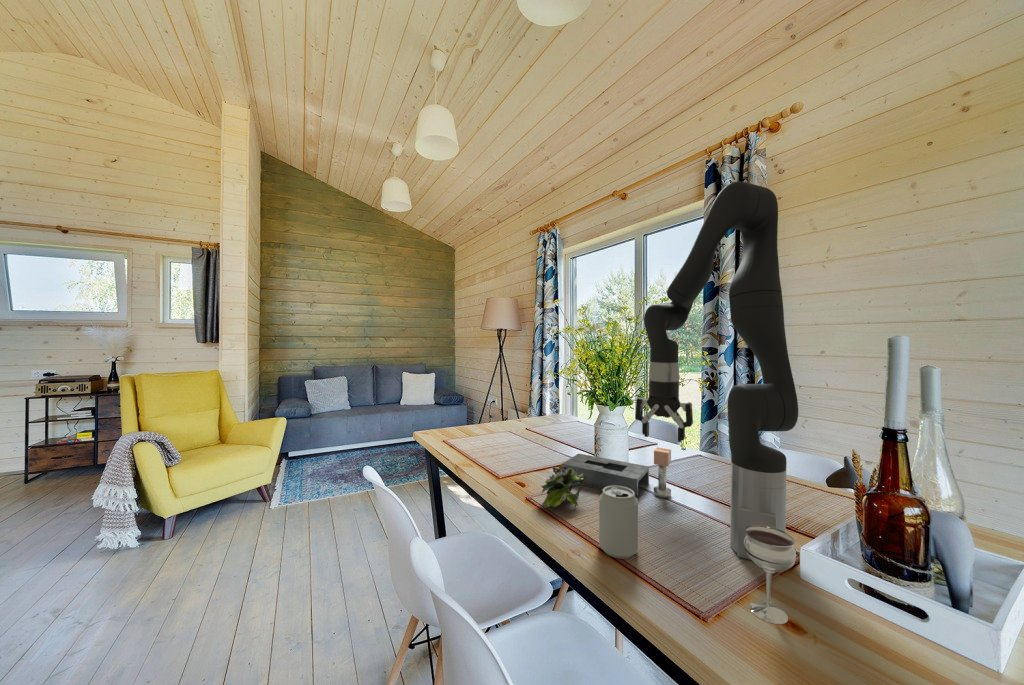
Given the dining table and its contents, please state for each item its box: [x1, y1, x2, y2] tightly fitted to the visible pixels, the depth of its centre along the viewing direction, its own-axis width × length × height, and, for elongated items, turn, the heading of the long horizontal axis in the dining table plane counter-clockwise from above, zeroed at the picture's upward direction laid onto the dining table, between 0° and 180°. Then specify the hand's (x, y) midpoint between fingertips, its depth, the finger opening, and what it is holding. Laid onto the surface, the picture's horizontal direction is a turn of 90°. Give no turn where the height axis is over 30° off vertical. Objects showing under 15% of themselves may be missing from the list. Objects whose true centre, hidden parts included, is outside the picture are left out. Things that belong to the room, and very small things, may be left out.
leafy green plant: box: [540, 465, 587, 511], centre depth 98 cm, size 11×11×12 cm
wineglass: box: [744, 525, 797, 625], centre depth 60 cm, size 7×7×12 cm
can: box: [598, 486, 639, 560], centre depth 77 cm, size 8×8×12 cm
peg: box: [653, 447, 672, 499], centre depth 104 cm, size 4×4×12 cm
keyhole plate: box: [561, 453, 650, 499], centre depth 113 cm, size 12×22×5 cm, turn 56°
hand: (663, 438), depth 104 cm, fingers open, 8 cm apart
